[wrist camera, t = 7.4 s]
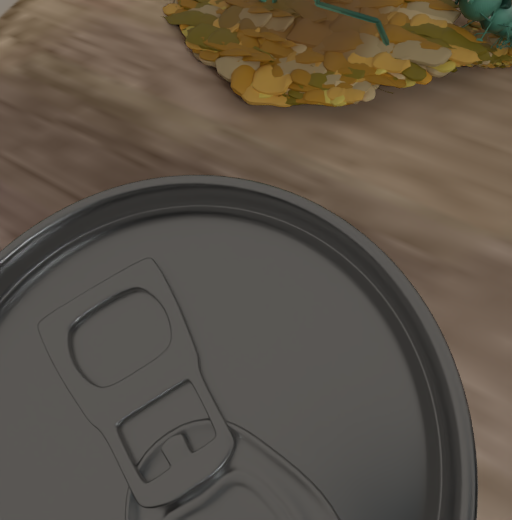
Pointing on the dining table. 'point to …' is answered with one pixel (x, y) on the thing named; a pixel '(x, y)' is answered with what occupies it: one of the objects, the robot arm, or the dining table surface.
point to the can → (222, 366)
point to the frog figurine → (340, 44)
